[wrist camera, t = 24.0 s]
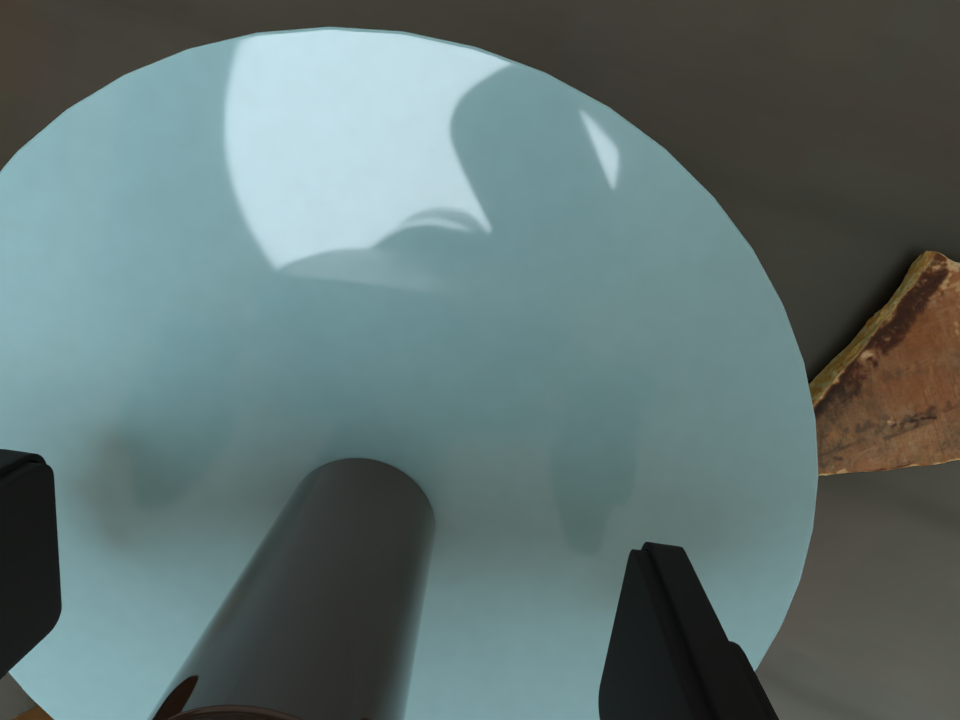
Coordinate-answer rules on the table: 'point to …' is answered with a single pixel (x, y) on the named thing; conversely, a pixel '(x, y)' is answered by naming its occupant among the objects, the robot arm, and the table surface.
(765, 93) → the table surface
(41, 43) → the table surface
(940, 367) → the shard
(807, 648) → the table surface
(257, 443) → the lid
